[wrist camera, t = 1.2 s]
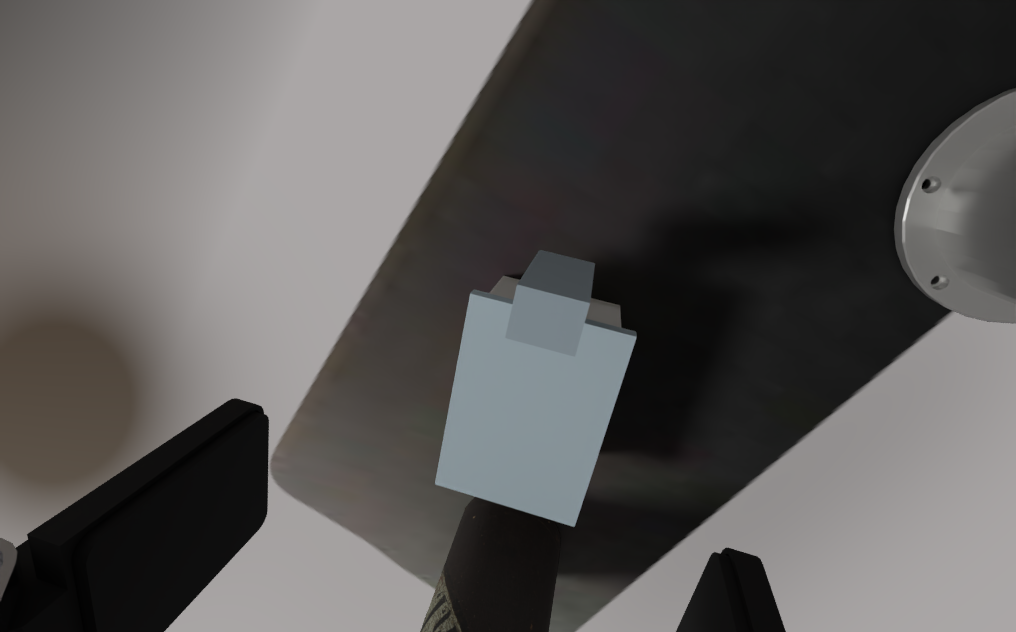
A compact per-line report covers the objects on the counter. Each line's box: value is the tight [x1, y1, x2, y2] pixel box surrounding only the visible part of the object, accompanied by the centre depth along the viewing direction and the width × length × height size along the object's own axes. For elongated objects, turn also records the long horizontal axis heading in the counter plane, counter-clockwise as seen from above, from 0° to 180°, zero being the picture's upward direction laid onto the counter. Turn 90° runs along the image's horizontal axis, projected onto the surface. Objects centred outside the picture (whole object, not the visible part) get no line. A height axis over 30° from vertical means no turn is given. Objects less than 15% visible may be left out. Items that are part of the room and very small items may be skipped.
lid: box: [435, 250, 637, 527], centre depth 26 cm, size 9×16×8 cm, turn 168°
